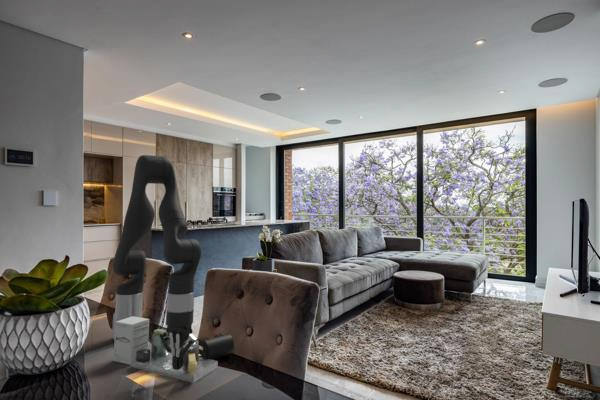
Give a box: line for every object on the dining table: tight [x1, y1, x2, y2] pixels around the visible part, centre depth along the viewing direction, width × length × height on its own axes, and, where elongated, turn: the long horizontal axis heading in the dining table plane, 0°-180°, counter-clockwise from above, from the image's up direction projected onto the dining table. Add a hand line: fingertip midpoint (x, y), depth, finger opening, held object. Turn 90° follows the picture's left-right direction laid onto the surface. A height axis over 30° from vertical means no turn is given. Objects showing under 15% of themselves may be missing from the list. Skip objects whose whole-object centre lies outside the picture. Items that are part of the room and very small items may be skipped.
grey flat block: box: [130, 328, 219, 384], centre depth 105 cm, size 24×12×9 cm, turn 67°
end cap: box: [197, 333, 235, 360], centre depth 112 cm, size 10×7×7 cm
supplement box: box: [113, 316, 150, 366], centre depth 110 cm, size 7×7×13 cm
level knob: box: [184, 344, 200, 372], centre depth 100 cm, size 12×4×4 cm, turn 20°
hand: (177, 368), depth 97 cm, fingers closed
